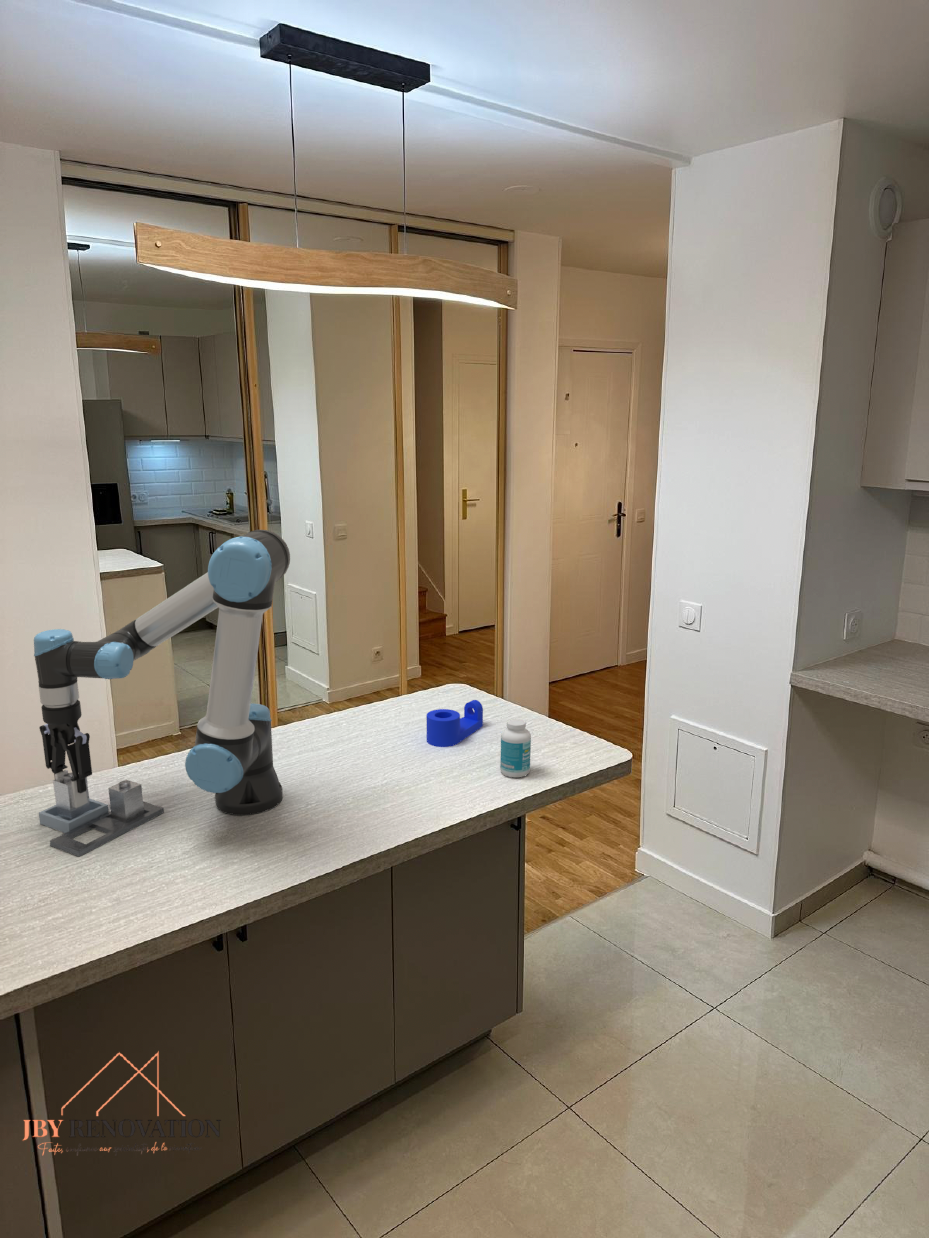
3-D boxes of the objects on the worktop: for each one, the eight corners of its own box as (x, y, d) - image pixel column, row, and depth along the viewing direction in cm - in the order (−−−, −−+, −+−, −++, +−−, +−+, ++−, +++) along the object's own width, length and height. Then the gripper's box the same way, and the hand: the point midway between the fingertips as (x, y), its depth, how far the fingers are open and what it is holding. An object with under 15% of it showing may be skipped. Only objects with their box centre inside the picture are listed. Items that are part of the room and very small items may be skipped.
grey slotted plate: (136, 803, 196) (135, 798, 196) (163, 812, 192) (163, 807, 192) (50, 845, 177) (49, 840, 177) (78, 856, 173) (78, 851, 173)
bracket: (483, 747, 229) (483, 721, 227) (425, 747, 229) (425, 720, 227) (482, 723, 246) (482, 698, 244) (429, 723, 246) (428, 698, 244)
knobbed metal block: (90, 809, 189) (86, 773, 187) (71, 818, 185) (66, 781, 183) (76, 804, 191) (71, 768, 189) (57, 813, 187) (52, 776, 185)
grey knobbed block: (144, 817, 190) (140, 780, 188) (126, 826, 186) (122, 789, 184) (129, 812, 192) (126, 776, 190) (111, 821, 188) (107, 784, 186)
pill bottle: (528, 780, 209) (529, 728, 205) (498, 777, 210) (498, 726, 207) (531, 767, 216) (533, 717, 212) (502, 765, 217) (503, 715, 214)
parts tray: (109, 815, 190) (108, 804, 190) (69, 834, 182) (68, 823, 181) (79, 805, 195) (78, 794, 194) (39, 823, 187) (38, 812, 186)
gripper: (103, 703, 181) (114, 804, 186) (49, 690, 189) (61, 786, 195) (72, 714, 174) (84, 818, 180) (18, 700, 183) (31, 799, 189)
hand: (72, 801), depth 187 cm, fingers closed on knobbed metal block, 5 cm apart
